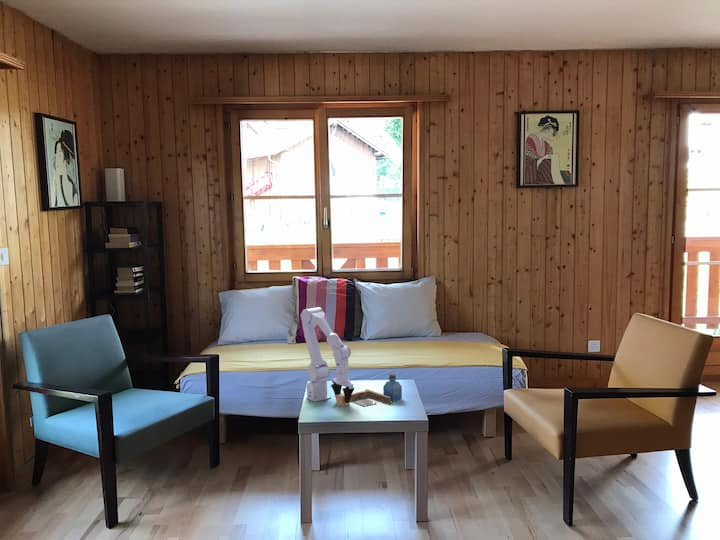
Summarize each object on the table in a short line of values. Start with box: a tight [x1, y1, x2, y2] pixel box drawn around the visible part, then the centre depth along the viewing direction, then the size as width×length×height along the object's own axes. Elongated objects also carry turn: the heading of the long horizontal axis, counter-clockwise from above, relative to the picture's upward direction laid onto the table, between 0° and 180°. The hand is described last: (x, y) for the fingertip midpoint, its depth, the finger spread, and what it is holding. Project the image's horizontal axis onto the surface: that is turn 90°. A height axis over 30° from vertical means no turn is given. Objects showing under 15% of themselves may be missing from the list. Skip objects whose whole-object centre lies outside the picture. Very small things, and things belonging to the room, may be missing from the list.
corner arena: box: [350, 388, 392, 408], centre depth 294 cm, size 13×18×3 cm
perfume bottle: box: [382, 373, 403, 403], centre depth 297 cm, size 6×6×12 cm
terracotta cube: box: [335, 392, 351, 407], centre depth 291 cm, size 4×4×5 cm
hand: (342, 400), depth 292 cm, fingers open, 7 cm apart
